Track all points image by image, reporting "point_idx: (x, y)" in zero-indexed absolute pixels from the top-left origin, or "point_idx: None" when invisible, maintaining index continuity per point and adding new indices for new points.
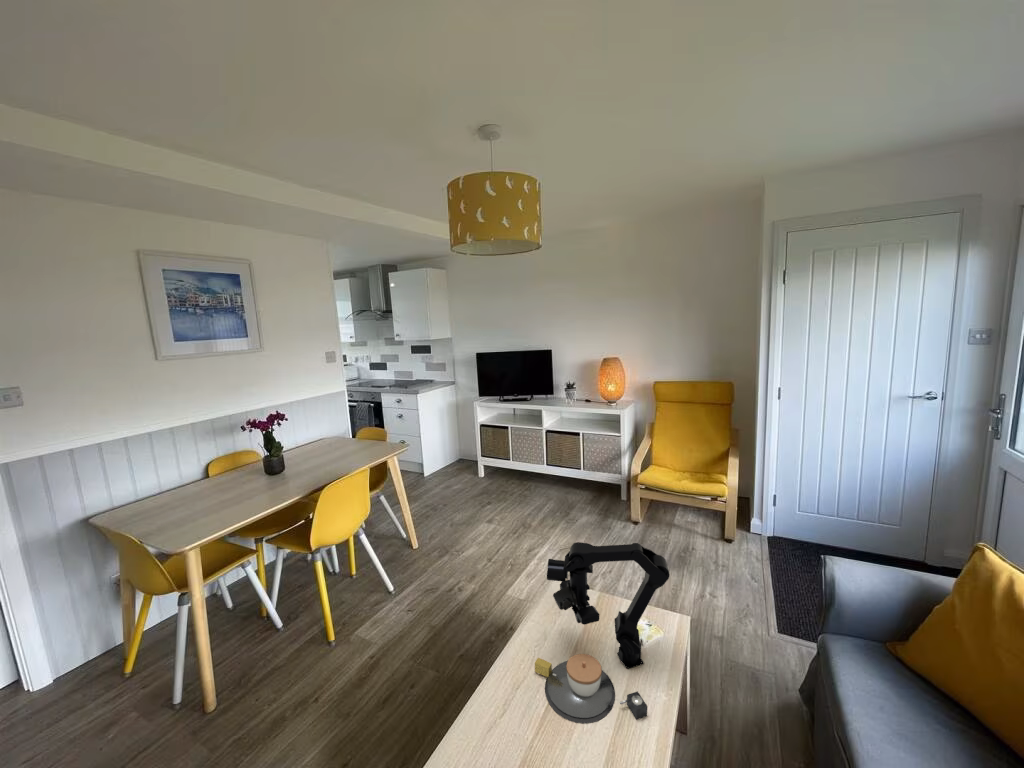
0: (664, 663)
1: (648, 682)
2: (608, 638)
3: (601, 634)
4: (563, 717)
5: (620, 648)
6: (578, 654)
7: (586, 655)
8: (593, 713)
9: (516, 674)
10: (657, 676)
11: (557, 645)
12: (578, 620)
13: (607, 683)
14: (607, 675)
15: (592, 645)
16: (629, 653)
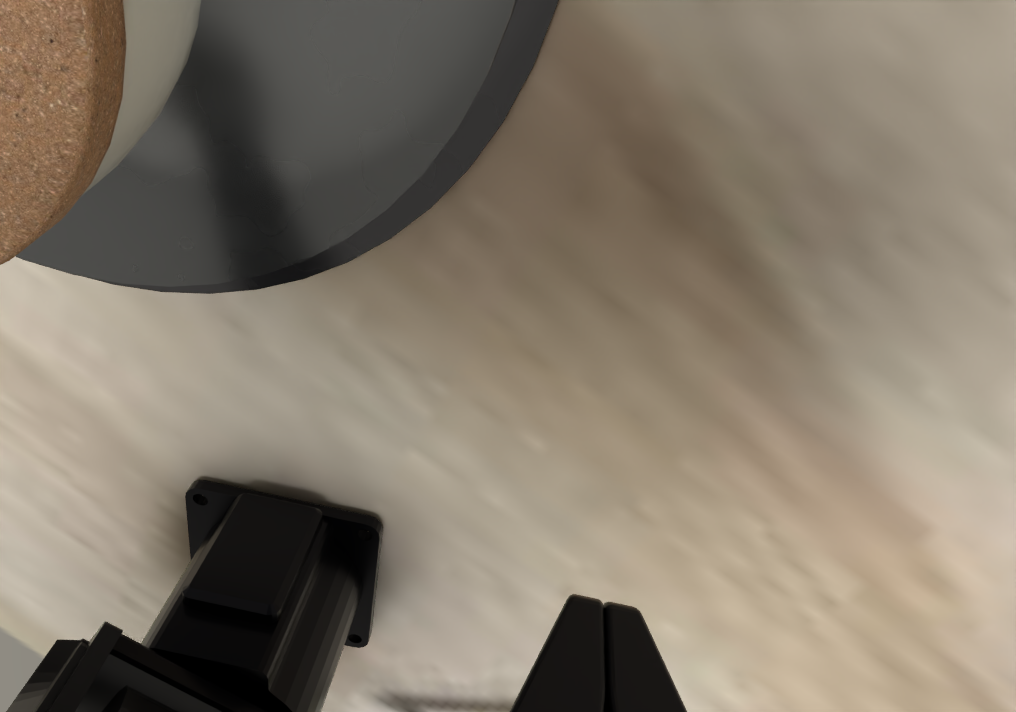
0: None
1: (28, 514)
2: (591, 576)
3: (676, 563)
4: None
5: (245, 612)
6: (62, 52)
7: (8, 189)
8: None
9: None
10: (70, 592)
11: (938, 13)
12: (522, 697)
13: None
14: (164, 288)
15: (611, 412)
16: (66, 646)
